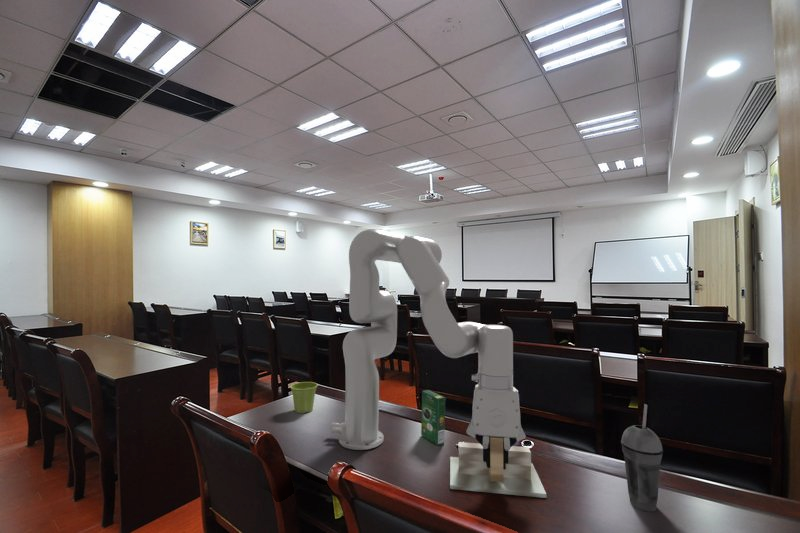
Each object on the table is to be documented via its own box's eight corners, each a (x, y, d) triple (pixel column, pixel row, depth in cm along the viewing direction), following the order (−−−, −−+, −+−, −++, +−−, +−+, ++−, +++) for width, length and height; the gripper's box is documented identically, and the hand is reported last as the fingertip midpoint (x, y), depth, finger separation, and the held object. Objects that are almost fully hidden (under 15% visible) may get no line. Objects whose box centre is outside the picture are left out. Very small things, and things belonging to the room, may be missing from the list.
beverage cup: (613, 494, 76) (611, 399, 77) (645, 493, 76) (643, 398, 77) (639, 516, 68) (637, 411, 70) (674, 515, 69) (671, 410, 70)
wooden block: (503, 482, 75) (503, 438, 76) (490, 480, 76) (490, 437, 76) (496, 456, 87) (496, 418, 88) (485, 455, 88) (485, 417, 88)
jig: (450, 488, 77) (450, 456, 77) (450, 459, 90) (450, 432, 90) (546, 497, 74) (546, 464, 75) (532, 466, 87) (532, 438, 87)
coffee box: (445, 444, 99) (446, 396, 100) (437, 446, 97) (438, 398, 98) (428, 434, 106) (428, 389, 106) (420, 436, 104) (421, 390, 105)
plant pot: (284, 414, 120) (285, 388, 120) (296, 405, 129) (297, 381, 130) (311, 416, 119) (311, 389, 119) (321, 406, 128) (321, 382, 128)
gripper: (459, 383, 77) (458, 471, 76) (537, 387, 74) (537, 478, 73) (458, 375, 84) (458, 454, 83) (529, 378, 82) (530, 460, 81)
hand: (495, 464), depth 78 cm, fingers closed on wooden block, 2 cm apart
